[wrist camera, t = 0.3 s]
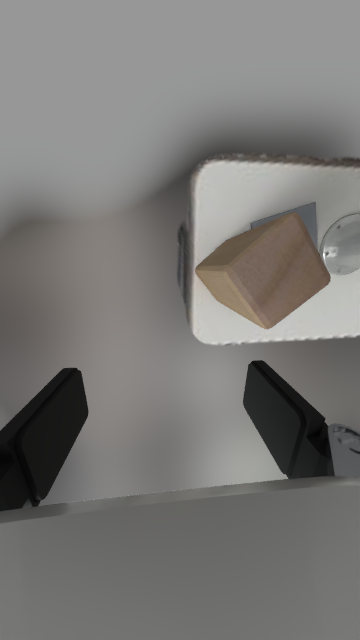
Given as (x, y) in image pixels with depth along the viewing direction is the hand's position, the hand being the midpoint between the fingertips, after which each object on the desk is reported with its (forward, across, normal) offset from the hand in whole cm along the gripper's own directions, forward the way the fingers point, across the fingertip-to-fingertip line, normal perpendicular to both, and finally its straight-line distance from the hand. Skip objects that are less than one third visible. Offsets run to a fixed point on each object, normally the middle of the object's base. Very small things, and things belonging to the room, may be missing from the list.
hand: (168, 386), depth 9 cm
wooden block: (+31, -13, -6) cm, 34 cm away
